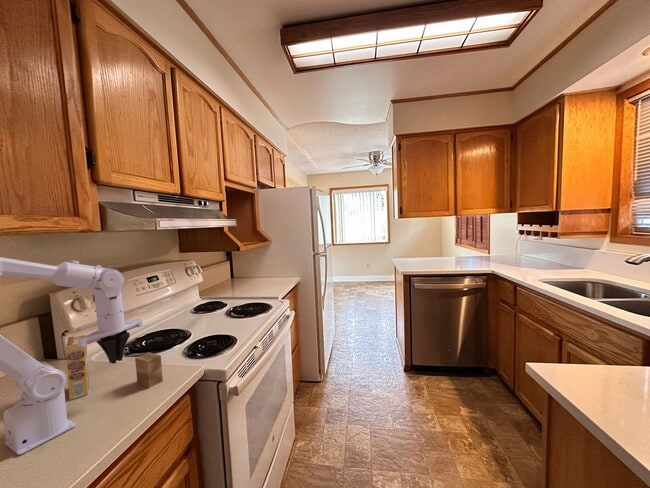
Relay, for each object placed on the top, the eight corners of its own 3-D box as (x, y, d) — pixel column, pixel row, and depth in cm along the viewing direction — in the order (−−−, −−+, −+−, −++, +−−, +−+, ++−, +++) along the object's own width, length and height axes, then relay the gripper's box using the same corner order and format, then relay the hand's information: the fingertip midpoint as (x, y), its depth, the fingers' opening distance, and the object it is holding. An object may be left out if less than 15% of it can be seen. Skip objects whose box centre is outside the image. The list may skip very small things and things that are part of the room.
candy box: (89, 394, 79) (84, 341, 78) (69, 400, 76) (63, 346, 75) (90, 381, 86) (85, 333, 85) (71, 387, 83) (66, 337, 82)
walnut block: (149, 388, 81) (147, 361, 80) (137, 383, 83) (135, 357, 83) (162, 381, 84) (160, 355, 84) (150, 377, 87) (148, 352, 87)
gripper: (130, 303, 83) (135, 347, 84) (68, 320, 70) (75, 371, 71) (144, 305, 80) (149, 351, 81) (82, 323, 67) (89, 377, 68)
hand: (116, 361), depth 76 cm, fingers closed
